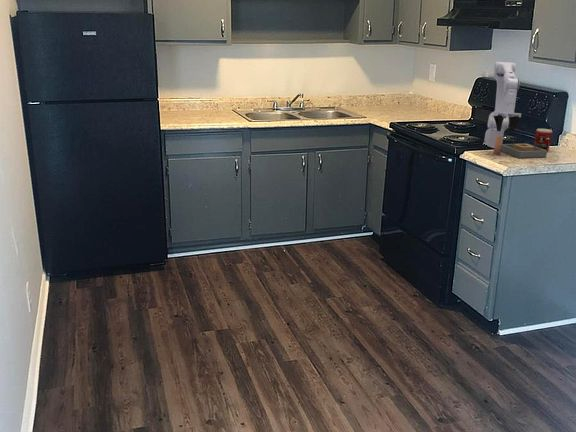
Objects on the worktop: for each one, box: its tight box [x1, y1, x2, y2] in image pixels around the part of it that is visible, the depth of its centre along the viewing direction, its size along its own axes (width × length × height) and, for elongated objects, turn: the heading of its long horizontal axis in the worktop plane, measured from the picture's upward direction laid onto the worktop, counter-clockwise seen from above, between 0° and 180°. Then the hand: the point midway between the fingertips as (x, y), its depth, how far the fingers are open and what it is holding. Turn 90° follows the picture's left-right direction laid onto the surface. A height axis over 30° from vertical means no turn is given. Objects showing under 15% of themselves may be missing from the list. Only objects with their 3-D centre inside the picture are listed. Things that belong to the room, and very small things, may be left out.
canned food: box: [533, 128, 553, 153], centre depth 307 cm, size 8×8×11 cm
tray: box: [500, 143, 548, 160], centre depth 298 cm, size 16×16×5 cm
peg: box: [492, 136, 503, 156], centre depth 296 cm, size 3×3×9 cm
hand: (505, 131), depth 290 cm, fingers open, 7 cm apart
